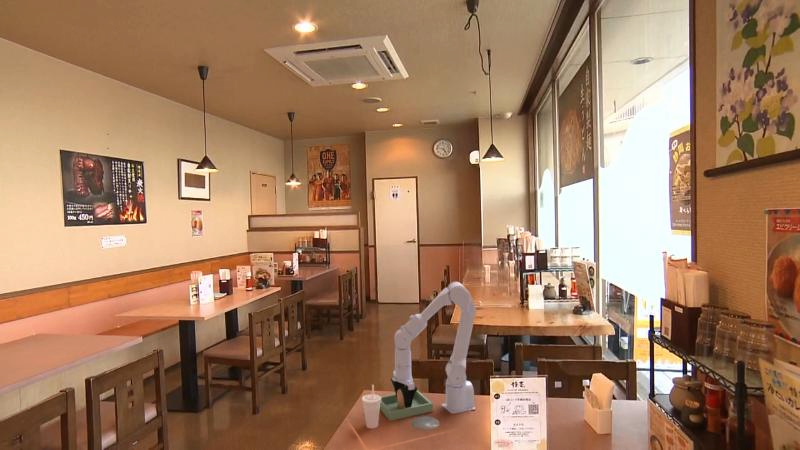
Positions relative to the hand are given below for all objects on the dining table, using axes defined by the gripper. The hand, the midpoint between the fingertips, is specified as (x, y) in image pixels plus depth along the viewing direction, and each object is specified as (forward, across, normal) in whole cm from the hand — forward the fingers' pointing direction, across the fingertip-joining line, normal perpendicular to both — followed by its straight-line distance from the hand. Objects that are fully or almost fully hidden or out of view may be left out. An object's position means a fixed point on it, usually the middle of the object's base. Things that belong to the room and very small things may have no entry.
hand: (403, 402), depth 152 cm
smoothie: (+3, +7, -14) cm, 16 cm away
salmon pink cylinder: (+2, 0, 0) cm, 2 cm away
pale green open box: (+2, 0, 0) cm, 3 cm away
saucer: (+2, +13, +2) cm, 13 cm away
